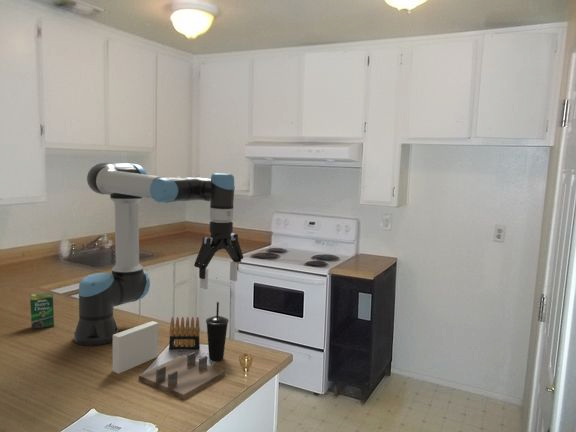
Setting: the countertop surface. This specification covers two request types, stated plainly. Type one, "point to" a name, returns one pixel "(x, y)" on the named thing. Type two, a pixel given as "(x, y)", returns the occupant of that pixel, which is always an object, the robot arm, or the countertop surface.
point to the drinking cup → (216, 336)
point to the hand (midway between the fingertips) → (219, 284)
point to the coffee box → (42, 310)
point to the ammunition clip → (184, 335)
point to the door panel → (135, 346)
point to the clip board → (182, 375)
